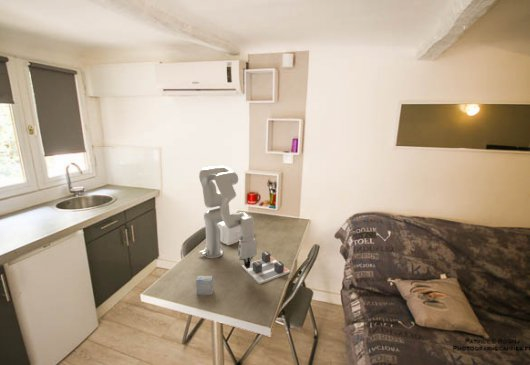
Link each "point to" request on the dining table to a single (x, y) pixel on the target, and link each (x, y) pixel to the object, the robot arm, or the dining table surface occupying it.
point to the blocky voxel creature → (229, 234)
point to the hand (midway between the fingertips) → (247, 267)
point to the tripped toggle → (257, 267)
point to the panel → (267, 269)
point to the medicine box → (204, 285)
